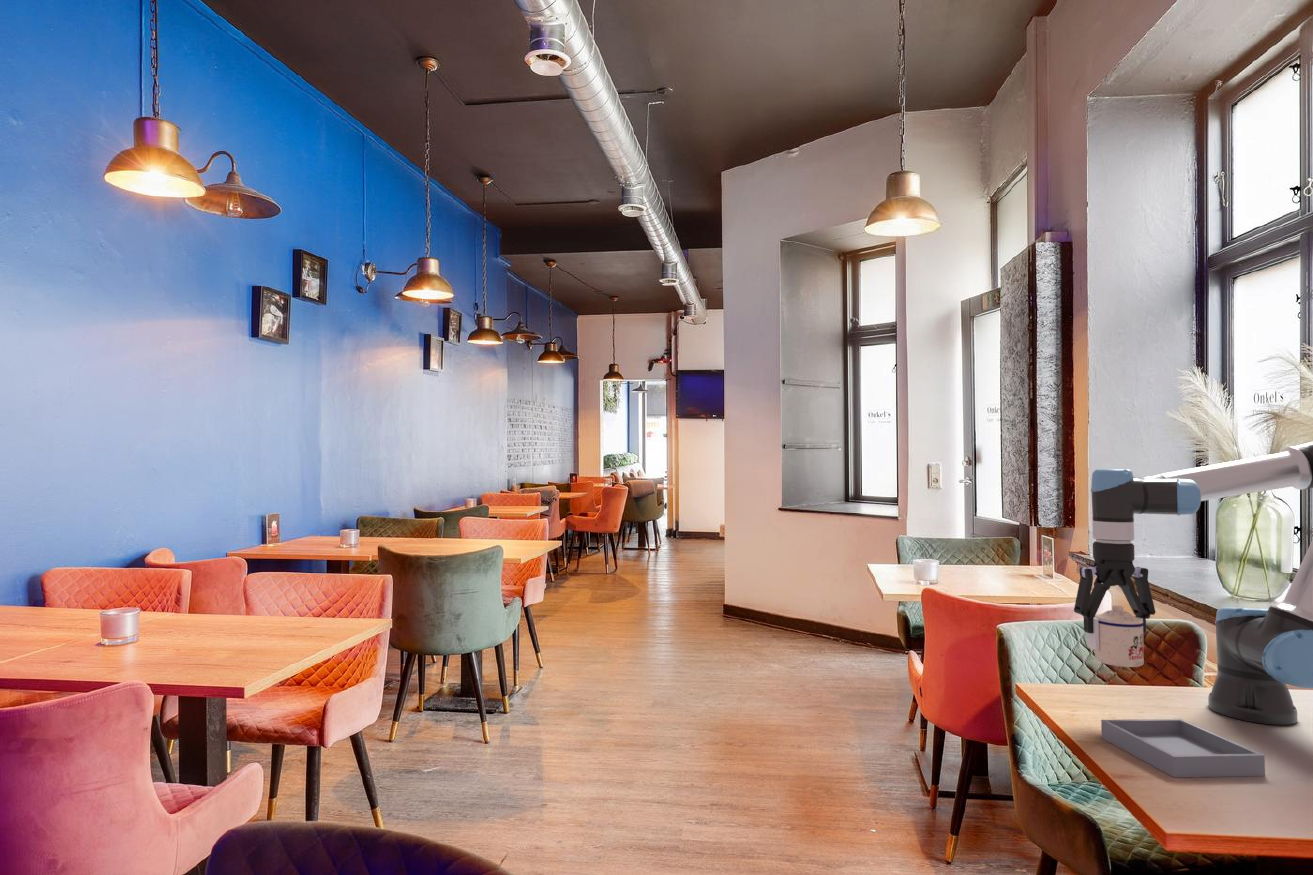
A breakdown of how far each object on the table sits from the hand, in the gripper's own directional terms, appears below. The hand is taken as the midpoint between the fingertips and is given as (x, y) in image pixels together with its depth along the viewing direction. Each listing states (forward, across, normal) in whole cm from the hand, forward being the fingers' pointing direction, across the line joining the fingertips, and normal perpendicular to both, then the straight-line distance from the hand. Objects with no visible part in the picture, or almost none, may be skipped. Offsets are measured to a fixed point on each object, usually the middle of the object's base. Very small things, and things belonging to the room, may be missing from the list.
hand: (1115, 648), depth 154 cm
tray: (+15, +1, +18) cm, 24 cm away
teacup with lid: (+3, -1, 0) cm, 3 cm away
